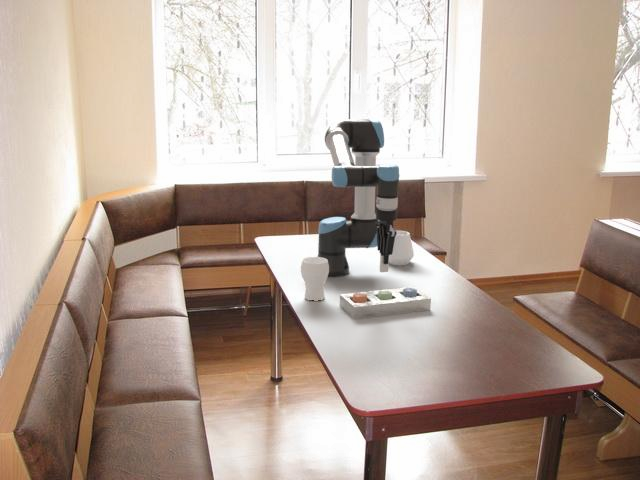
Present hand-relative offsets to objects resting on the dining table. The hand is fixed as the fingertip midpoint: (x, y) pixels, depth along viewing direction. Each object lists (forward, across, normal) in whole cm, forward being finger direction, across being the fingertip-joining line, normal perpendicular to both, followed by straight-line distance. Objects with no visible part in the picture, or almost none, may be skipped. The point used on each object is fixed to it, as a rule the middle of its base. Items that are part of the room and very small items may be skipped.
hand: (383, 271), depth 242 cm
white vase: (+15, -50, +31) cm, 61 cm away
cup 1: (+14, -16, -21) cm, 30 cm away
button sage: (+13, +2, 0) cm, 13 cm away
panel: (+13, +2, 0) cm, 14 cm away
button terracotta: (+13, +2, -10) cm, 16 cm away
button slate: (+13, +3, +10) cm, 16 cm away
